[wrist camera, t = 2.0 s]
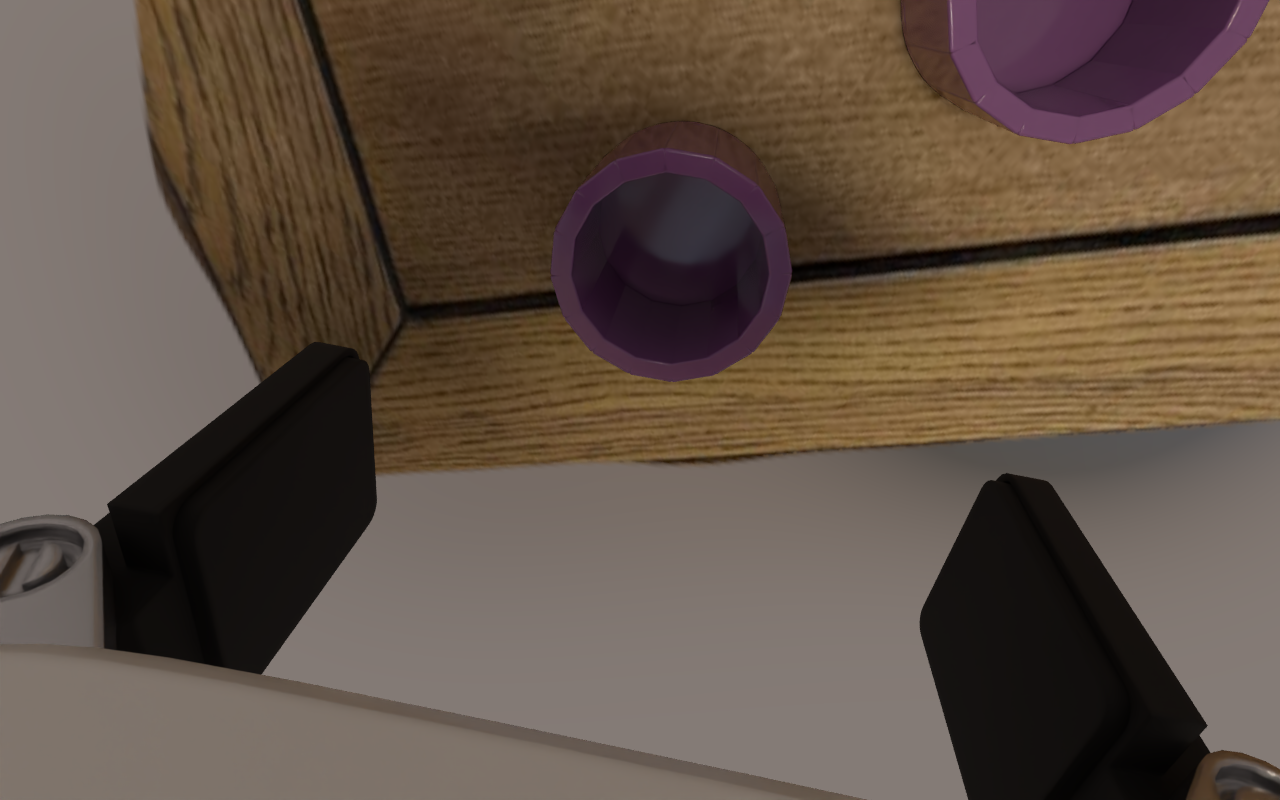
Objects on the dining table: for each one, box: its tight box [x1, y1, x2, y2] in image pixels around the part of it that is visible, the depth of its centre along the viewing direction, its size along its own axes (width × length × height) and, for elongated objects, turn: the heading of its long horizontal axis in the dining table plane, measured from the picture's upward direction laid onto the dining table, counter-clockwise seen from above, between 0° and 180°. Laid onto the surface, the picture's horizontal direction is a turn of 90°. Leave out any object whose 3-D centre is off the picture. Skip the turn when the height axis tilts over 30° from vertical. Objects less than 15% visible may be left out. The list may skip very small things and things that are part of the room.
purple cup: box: [550, 121, 792, 382], centre depth 21 cm, size 6×6×5 cm
